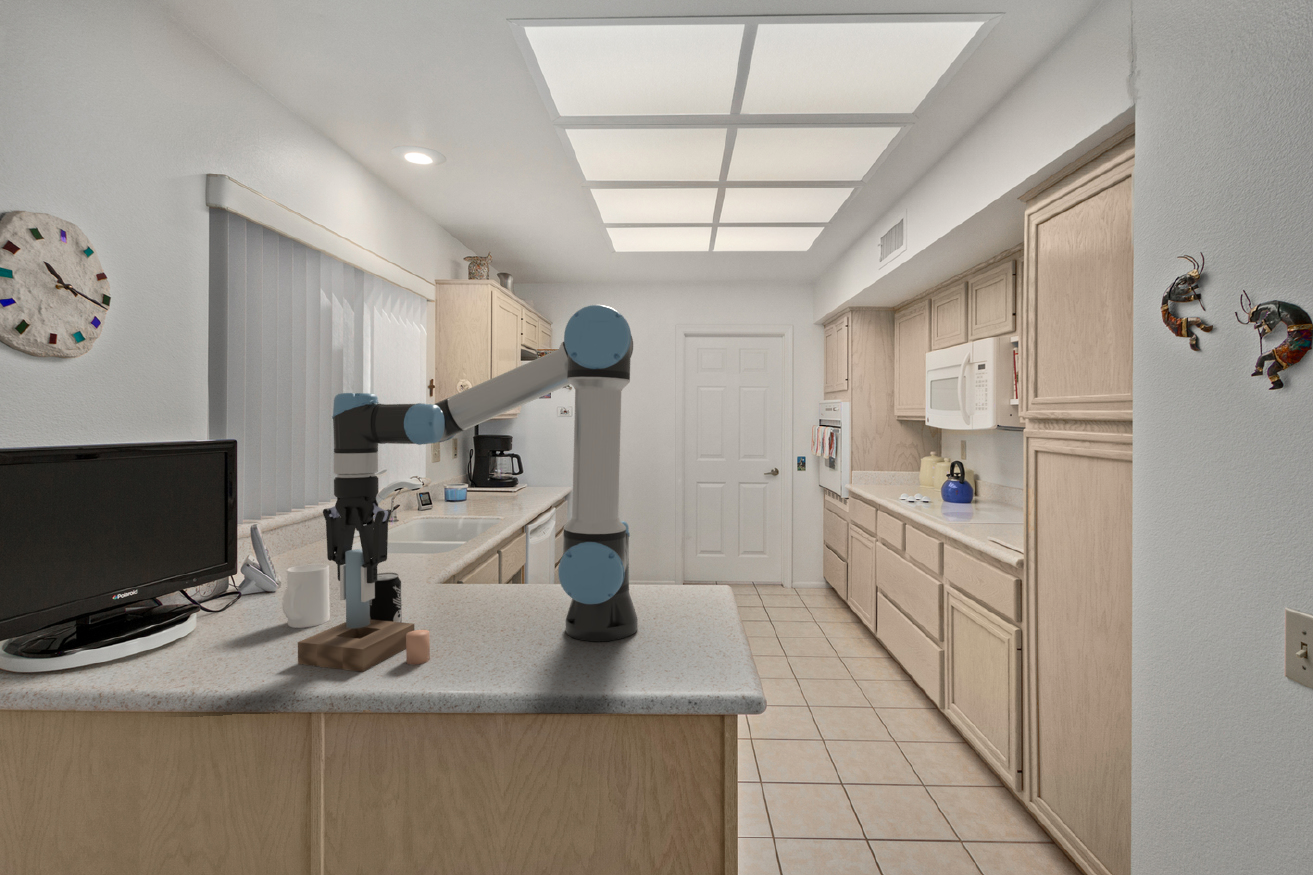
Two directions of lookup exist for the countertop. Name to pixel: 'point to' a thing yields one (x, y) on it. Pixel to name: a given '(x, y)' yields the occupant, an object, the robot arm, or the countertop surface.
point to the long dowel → (355, 591)
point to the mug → (307, 595)
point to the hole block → (354, 645)
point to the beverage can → (386, 598)
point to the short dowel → (417, 647)
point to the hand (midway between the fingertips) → (357, 598)
